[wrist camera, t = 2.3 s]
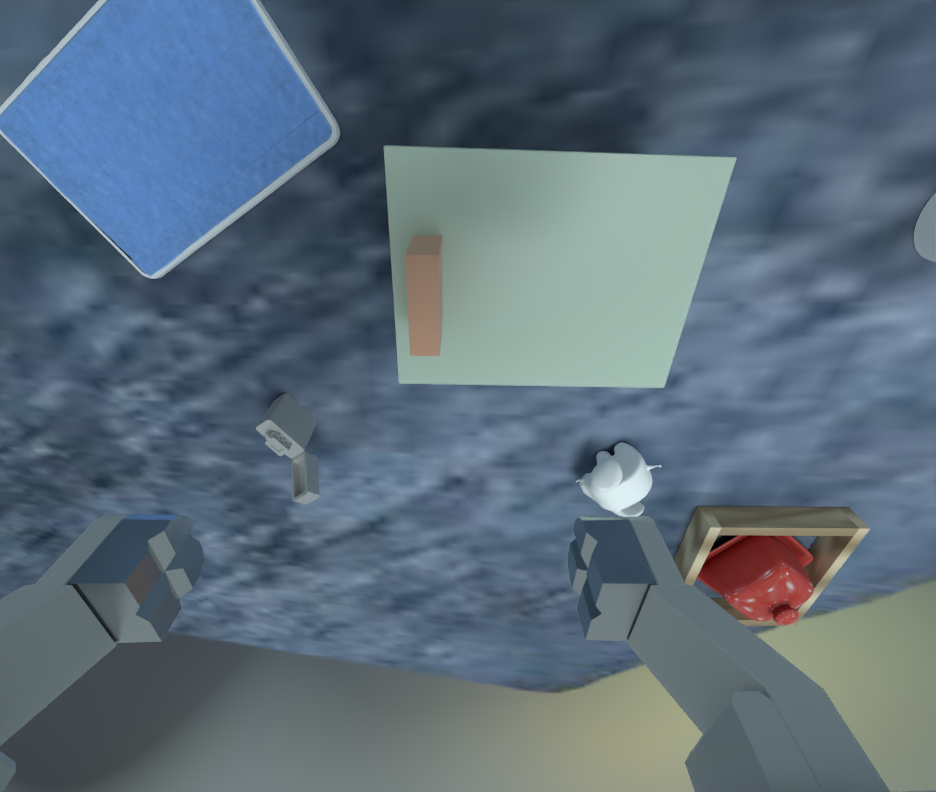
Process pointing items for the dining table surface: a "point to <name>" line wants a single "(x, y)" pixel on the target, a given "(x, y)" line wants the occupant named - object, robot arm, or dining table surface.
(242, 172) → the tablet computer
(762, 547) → the butter dish
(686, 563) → the wooden frame
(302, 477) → the lighter
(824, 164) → the dining table surface
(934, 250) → the cylindrical container
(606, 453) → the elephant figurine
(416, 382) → the lid
